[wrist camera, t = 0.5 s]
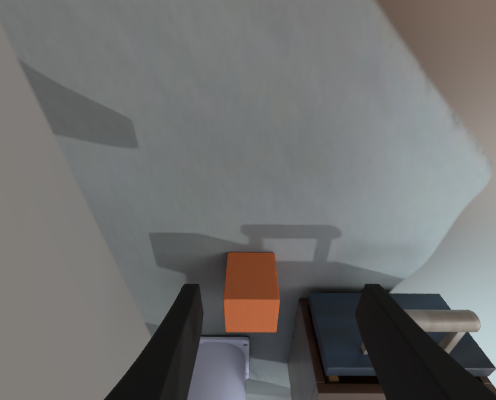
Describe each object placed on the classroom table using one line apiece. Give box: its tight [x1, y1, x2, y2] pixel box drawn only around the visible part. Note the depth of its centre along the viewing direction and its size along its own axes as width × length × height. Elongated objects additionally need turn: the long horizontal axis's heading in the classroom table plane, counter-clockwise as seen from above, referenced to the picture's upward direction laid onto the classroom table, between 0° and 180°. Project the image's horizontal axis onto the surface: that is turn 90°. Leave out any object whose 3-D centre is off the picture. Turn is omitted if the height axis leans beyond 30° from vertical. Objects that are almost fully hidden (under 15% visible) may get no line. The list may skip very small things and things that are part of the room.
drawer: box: [308, 293, 496, 384], centre depth 24 cm, size 17×13×7 cm
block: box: [223, 252, 280, 332], centre depth 22 cm, size 4×4×5 cm
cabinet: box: [288, 299, 496, 400], centre depth 26 cm, size 13×14×8 cm
